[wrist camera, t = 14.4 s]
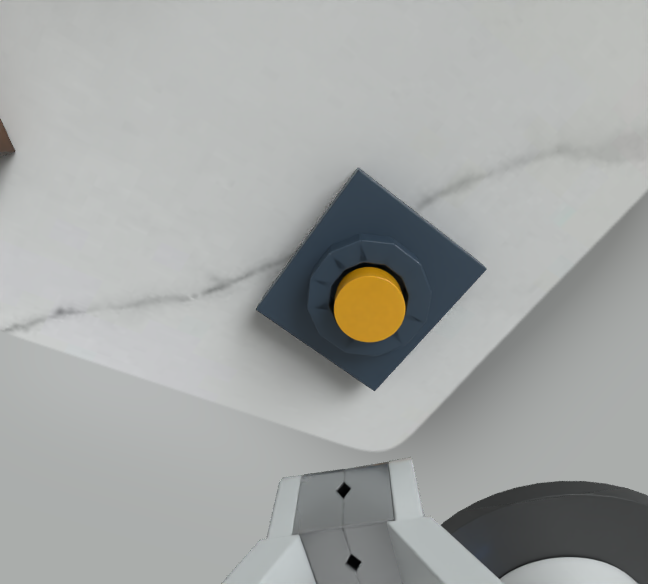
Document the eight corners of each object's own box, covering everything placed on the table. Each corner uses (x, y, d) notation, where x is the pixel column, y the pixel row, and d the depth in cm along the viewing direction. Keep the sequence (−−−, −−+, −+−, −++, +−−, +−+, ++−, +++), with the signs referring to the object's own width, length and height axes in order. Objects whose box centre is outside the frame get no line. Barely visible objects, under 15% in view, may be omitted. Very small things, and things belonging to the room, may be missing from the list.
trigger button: (373, 340, 24) (375, 355, 22) (321, 304, 23) (319, 316, 21) (415, 292, 23) (420, 304, 21) (362, 253, 22) (363, 261, 20)
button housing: (373, 373, 28) (376, 408, 25) (262, 297, 27) (248, 321, 23) (476, 259, 25) (498, 278, 22) (358, 167, 24) (359, 170, 20)
